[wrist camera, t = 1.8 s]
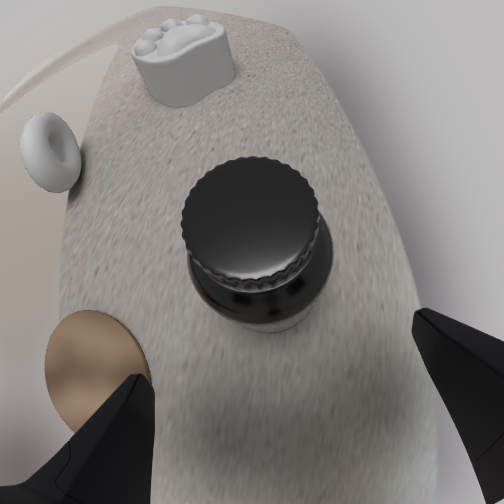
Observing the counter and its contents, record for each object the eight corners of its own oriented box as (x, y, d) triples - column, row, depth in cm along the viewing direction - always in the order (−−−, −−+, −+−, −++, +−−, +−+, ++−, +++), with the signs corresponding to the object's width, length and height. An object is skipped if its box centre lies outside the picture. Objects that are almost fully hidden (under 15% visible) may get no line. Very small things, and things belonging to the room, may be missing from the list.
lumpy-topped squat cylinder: (176, 116, 28) (150, 57, 20) (136, 84, 33) (113, 40, 25) (246, 74, 30) (235, 17, 22) (193, 51, 34) (179, 7, 26)
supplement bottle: (206, 281, 21) (124, 204, 10) (276, 227, 22) (261, 109, 11) (262, 354, 19) (226, 359, 8) (335, 293, 20) (391, 219, 8)
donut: (68, 153, 29) (27, 107, 20) (88, 141, 29) (48, 90, 20) (62, 213, 26) (4, 167, 17) (85, 201, 26) (27, 147, 17)
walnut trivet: (173, 433, 17) (169, 435, 16) (71, 445, 17) (66, 447, 16) (128, 293, 22) (123, 290, 21) (41, 331, 21) (35, 329, 21)
